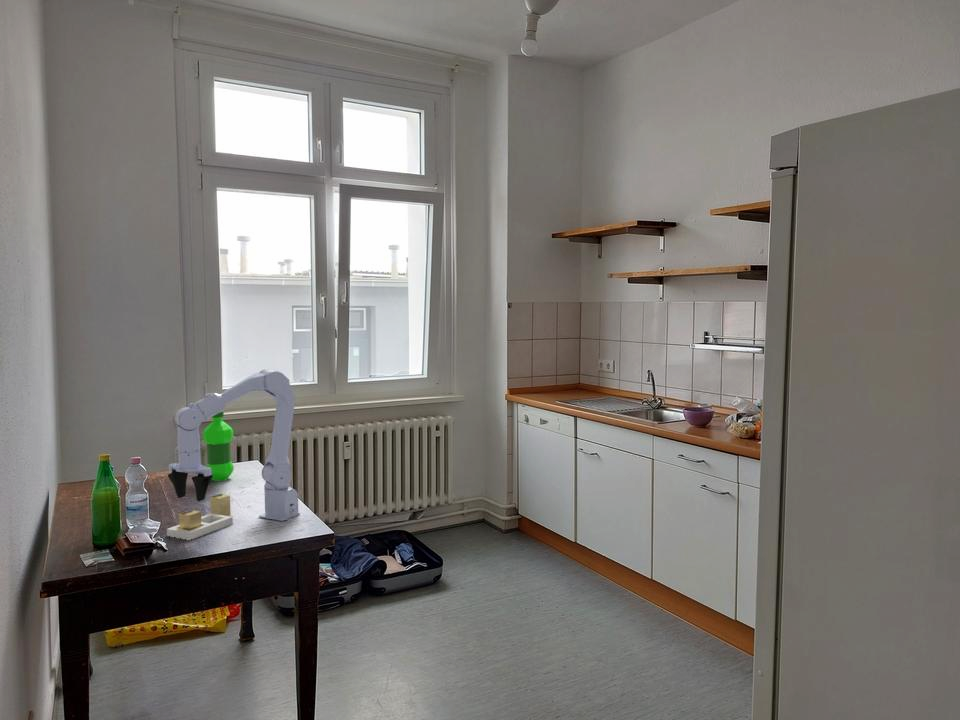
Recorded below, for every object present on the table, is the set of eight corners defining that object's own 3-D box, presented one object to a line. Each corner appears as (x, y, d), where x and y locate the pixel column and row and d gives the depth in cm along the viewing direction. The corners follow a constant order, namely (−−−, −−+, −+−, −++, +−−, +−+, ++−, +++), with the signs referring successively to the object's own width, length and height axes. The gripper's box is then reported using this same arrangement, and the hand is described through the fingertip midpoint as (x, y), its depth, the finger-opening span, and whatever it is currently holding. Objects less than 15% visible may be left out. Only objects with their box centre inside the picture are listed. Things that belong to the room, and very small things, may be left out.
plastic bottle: (198, 481, 245) (195, 412, 243) (221, 474, 254) (219, 408, 252) (217, 484, 240) (215, 414, 239) (240, 477, 250) (238, 410, 248)
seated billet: (201, 532, 189) (200, 510, 188) (190, 536, 185) (189, 514, 185) (191, 530, 191) (190, 509, 190) (179, 534, 187) (178, 513, 187)
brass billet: (230, 514, 205) (229, 494, 205) (220, 518, 201) (219, 498, 201) (220, 513, 207) (220, 493, 206) (210, 516, 203) (209, 496, 203)
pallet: (232, 523, 196) (232, 516, 196) (189, 540, 182) (188, 533, 182) (211, 519, 200) (211, 513, 200) (167, 536, 186) (166, 528, 186)
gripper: (158, 451, 187) (160, 499, 189) (196, 455, 181) (198, 505, 182) (179, 446, 194) (181, 492, 195) (216, 450, 188) (218, 498, 189)
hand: (191, 498), depth 189 cm, fingers open, 7 cm apart
